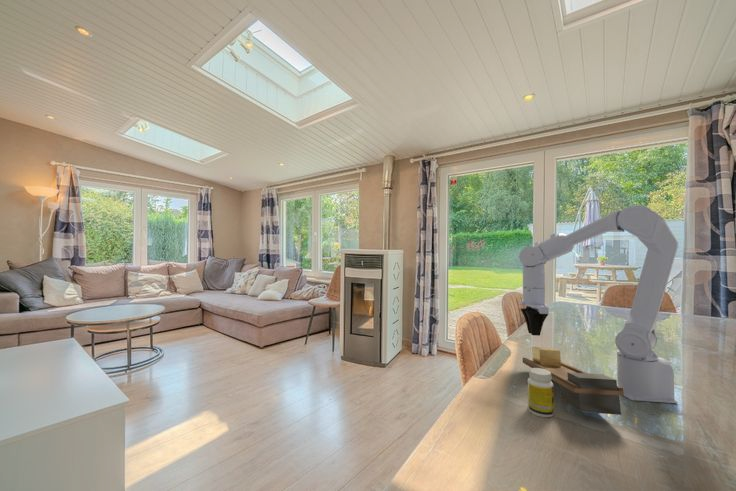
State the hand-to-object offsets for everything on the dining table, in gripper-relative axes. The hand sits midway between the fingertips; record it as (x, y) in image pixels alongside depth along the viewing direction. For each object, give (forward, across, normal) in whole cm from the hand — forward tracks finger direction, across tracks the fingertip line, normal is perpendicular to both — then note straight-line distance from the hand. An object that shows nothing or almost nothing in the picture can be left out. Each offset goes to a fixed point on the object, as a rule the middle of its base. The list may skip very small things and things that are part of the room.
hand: (534, 334), depth 89 cm
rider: (+6, +8, 0) cm, 10 cm away
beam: (+9, +17, 0) cm, 20 cm away
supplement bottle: (+10, +27, -9) cm, 30 cm away
